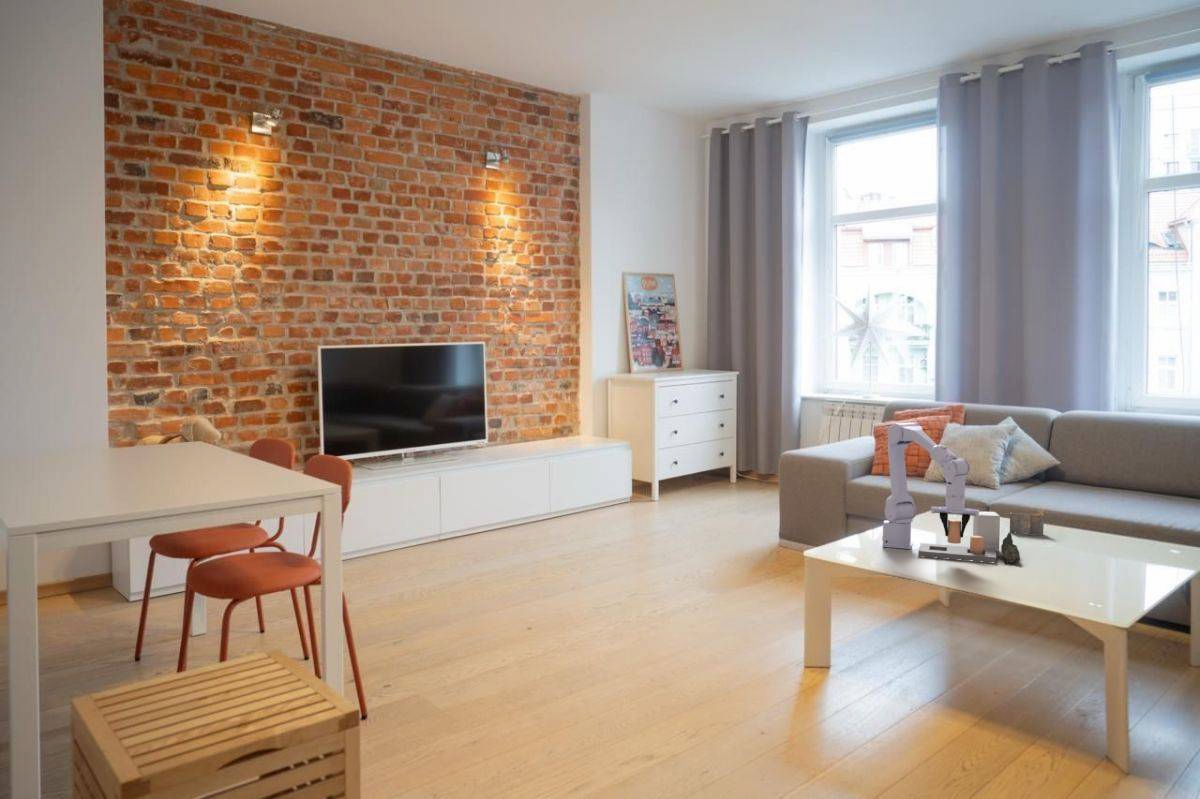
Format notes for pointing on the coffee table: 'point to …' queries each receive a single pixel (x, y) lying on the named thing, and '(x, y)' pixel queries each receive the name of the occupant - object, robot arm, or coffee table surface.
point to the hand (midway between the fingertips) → (954, 536)
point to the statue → (1009, 550)
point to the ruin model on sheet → (1027, 523)
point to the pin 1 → (954, 531)
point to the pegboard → (956, 552)
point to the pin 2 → (976, 544)
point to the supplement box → (987, 529)
